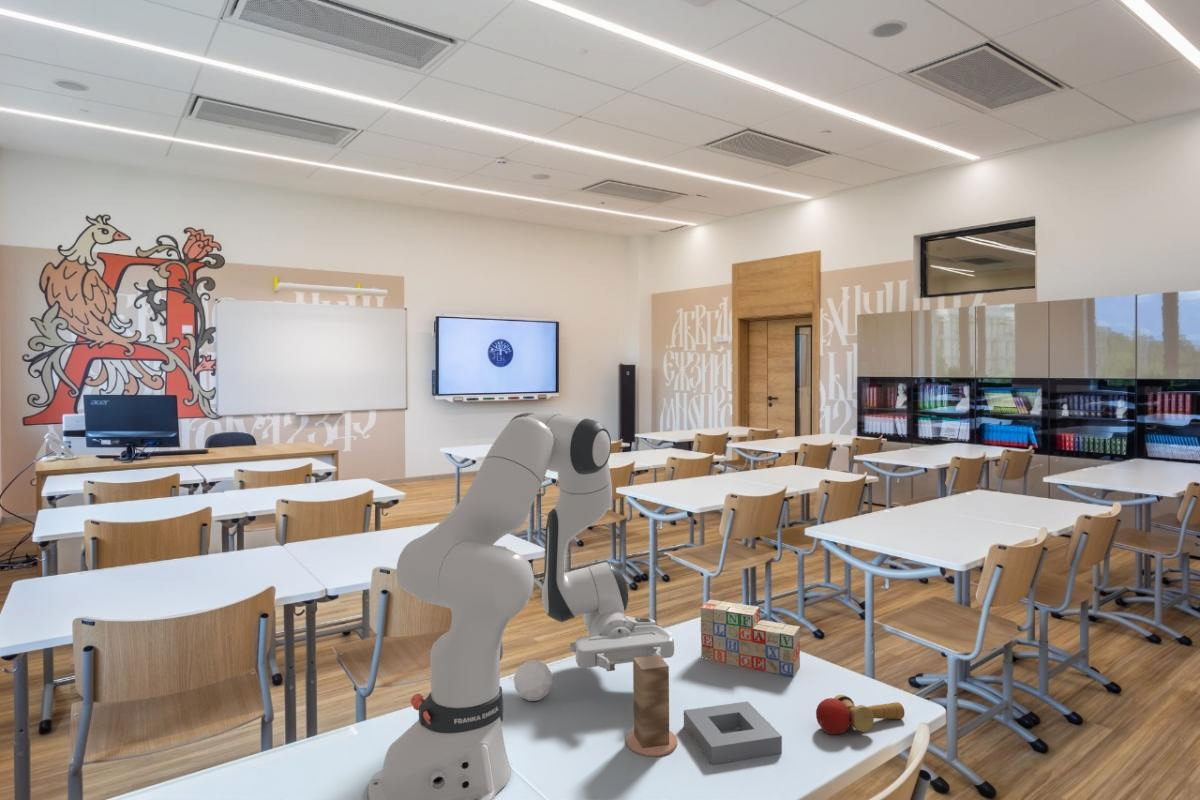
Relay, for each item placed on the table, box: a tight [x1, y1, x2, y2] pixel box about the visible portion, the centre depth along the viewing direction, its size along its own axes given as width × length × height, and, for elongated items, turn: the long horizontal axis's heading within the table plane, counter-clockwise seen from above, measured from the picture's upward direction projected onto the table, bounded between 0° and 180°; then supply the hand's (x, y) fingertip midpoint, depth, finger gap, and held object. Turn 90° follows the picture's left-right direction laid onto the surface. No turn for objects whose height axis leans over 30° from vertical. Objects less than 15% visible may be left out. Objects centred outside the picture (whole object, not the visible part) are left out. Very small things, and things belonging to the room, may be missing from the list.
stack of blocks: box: [700, 599, 801, 678], centre depth 155 cm, size 21×6×12 cm, turn 60°
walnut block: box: [632, 655, 670, 749], centre depth 121 cm, size 5×5×14 cm
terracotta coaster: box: [626, 729, 678, 758], centre depth 122 cm, size 9×9×1 cm
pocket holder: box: [683, 701, 783, 765], centre depth 122 cm, size 13×13×3 cm
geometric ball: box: [513, 659, 553, 702], centre depth 139 cm, size 8×8×8 cm
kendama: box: [815, 694, 905, 735], centre depth 127 cm, size 8×6×18 cm
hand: (634, 664), depth 131 cm, fingers open, 8 cm apart
